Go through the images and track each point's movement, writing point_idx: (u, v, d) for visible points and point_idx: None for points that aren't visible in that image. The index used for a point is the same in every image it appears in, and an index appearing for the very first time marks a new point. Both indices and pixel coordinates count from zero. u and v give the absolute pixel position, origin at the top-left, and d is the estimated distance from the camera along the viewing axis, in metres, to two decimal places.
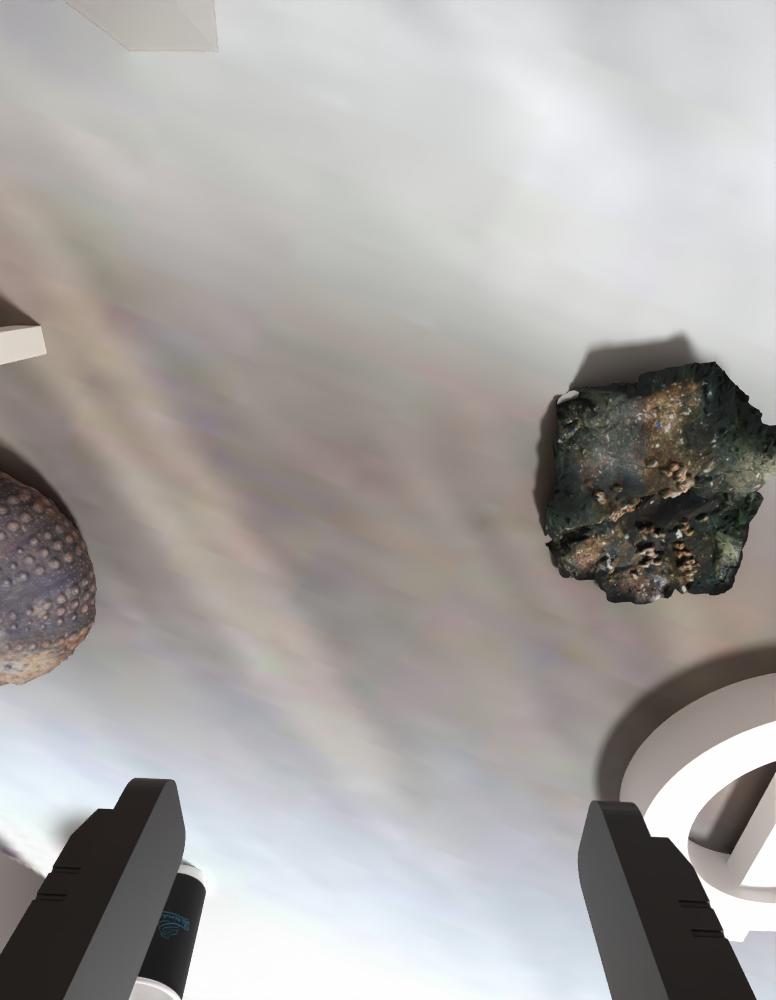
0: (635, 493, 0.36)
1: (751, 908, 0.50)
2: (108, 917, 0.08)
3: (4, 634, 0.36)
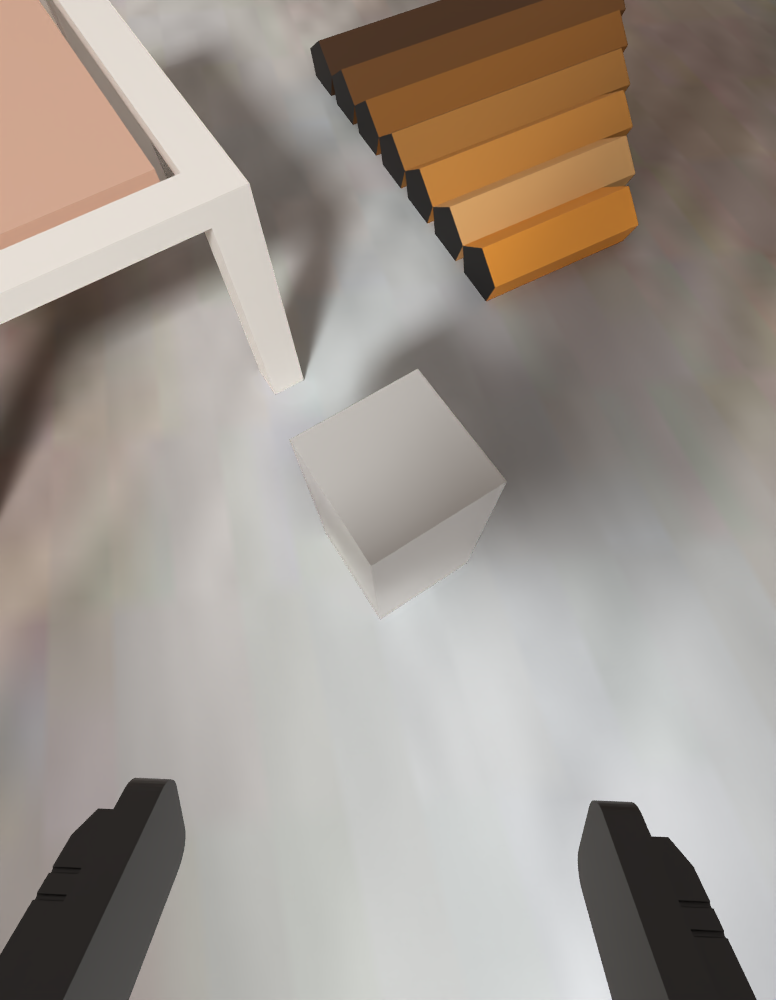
0: None
1: None
2: (108, 917, 0.08)
3: None
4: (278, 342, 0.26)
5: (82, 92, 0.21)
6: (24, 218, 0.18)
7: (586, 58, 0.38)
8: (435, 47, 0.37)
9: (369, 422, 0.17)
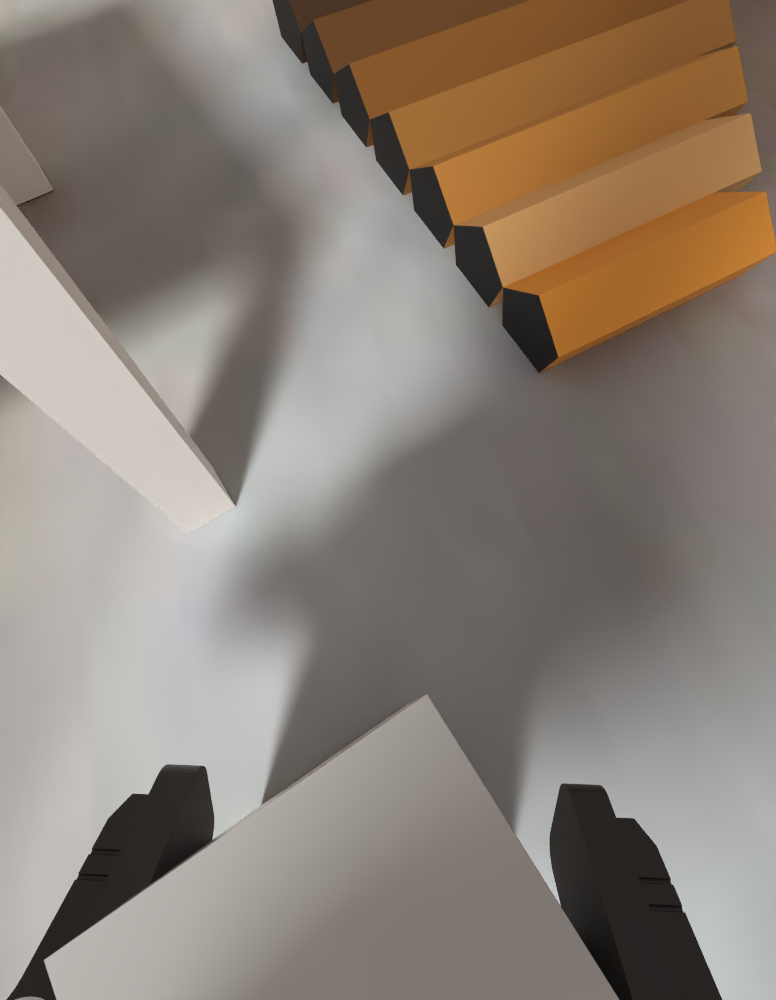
0: None
1: None
2: None
3: None
4: (174, 471, 0.15)
5: None
6: None
7: (669, 5, 0.26)
8: None
9: (287, 891, 0.06)
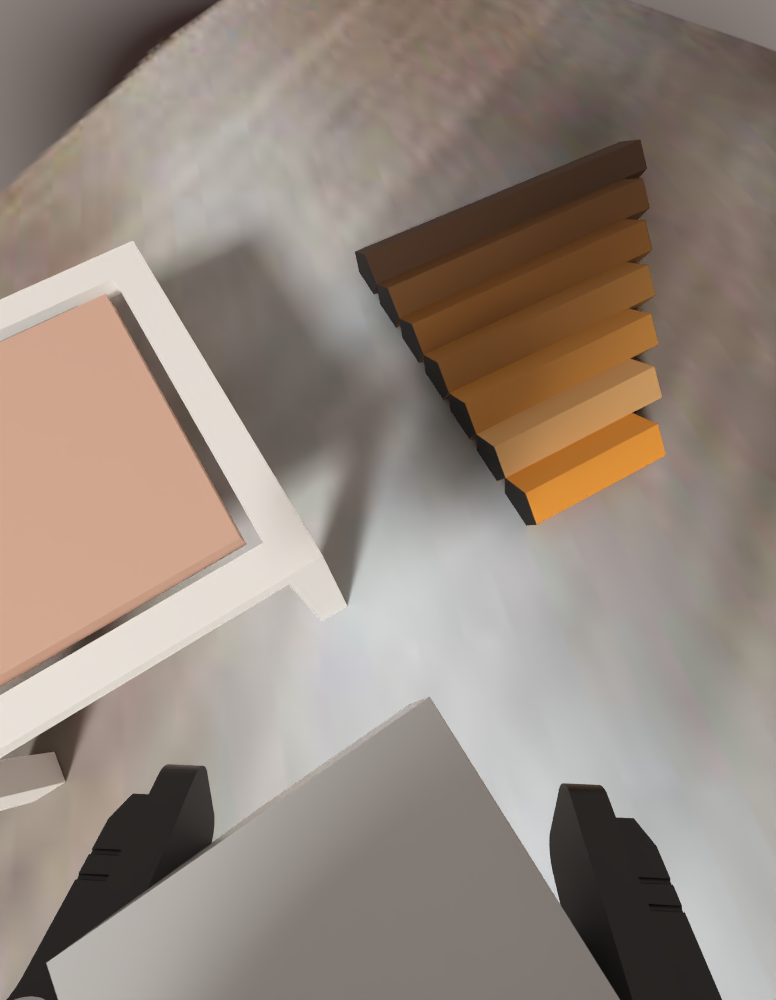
0: None
1: None
2: None
3: None
4: (330, 601, 0.29)
5: (171, 445, 0.24)
6: (131, 593, 0.21)
7: (614, 265, 0.40)
8: (474, 260, 0.39)
9: (290, 893, 0.06)
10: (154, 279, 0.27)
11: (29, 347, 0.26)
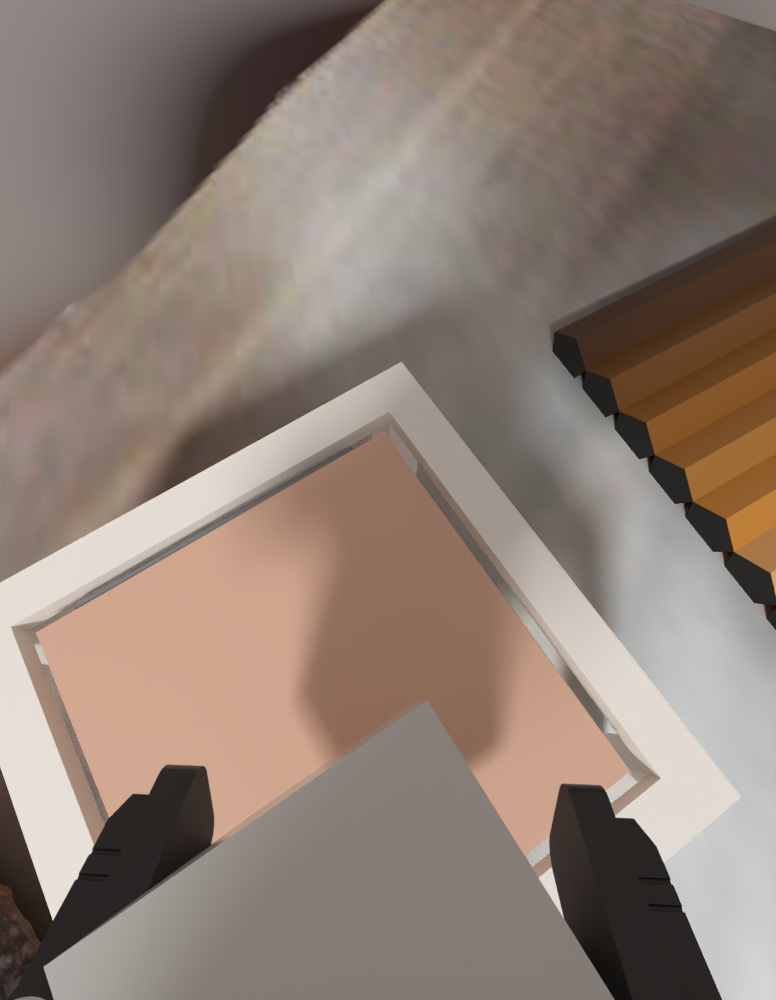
0: None
1: None
2: None
3: None
4: None
5: (512, 639, 0.19)
6: None
7: None
8: (698, 343, 0.35)
9: (287, 898, 0.06)
10: (439, 412, 0.22)
11: (307, 505, 0.21)
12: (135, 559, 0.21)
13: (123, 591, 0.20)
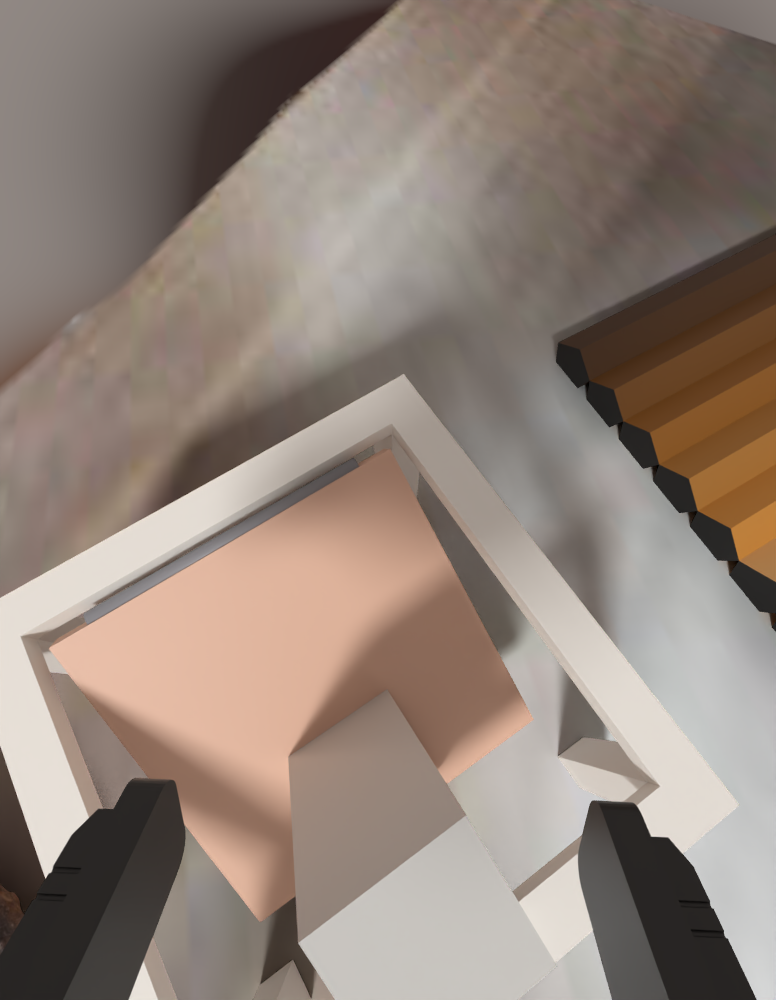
0: None
1: None
2: (108, 917, 0.08)
3: None
4: None
5: (474, 638, 0.25)
6: (452, 774, 0.25)
7: None
8: (700, 353, 0.35)
9: (403, 904, 0.13)
10: (440, 424, 0.23)
11: (315, 523, 0.22)
12: (142, 569, 0.21)
13: (136, 607, 0.20)
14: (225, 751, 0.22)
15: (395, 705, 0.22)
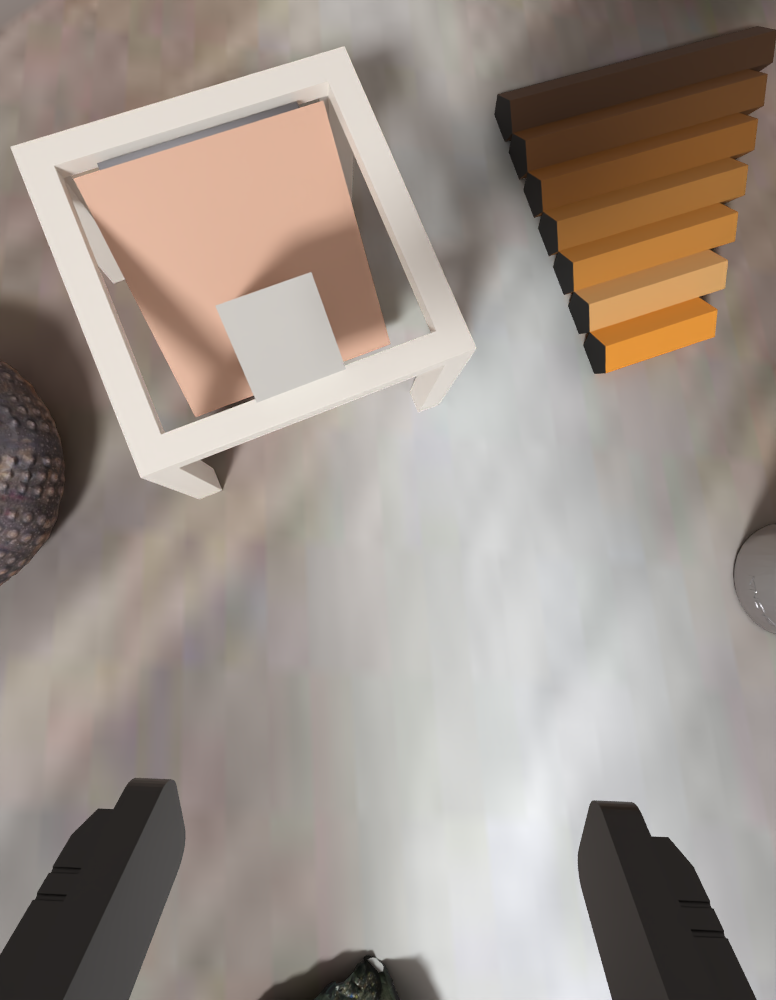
0: None
1: None
2: (108, 917, 0.08)
3: None
4: (439, 394, 0.39)
5: (360, 271, 0.37)
6: None
7: (718, 158, 0.45)
8: (603, 127, 0.44)
9: (271, 306, 0.27)
10: (362, 90, 0.32)
11: (262, 143, 0.32)
12: (139, 144, 0.31)
13: (133, 167, 0.30)
14: (184, 294, 0.34)
15: None
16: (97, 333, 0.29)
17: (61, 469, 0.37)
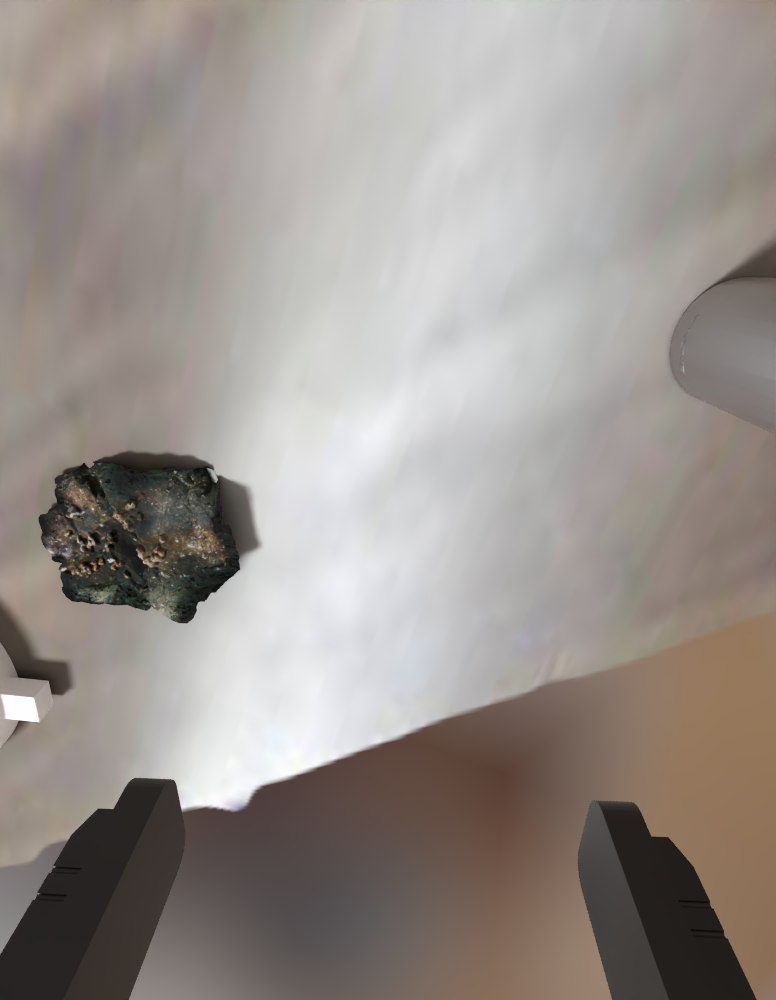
0: (137, 529, 0.46)
1: None
2: (108, 917, 0.08)
3: None
4: None
5: None
6: None
7: None
8: None
9: None
10: None
11: None
12: None
13: None
14: None
15: None
16: None
17: None
